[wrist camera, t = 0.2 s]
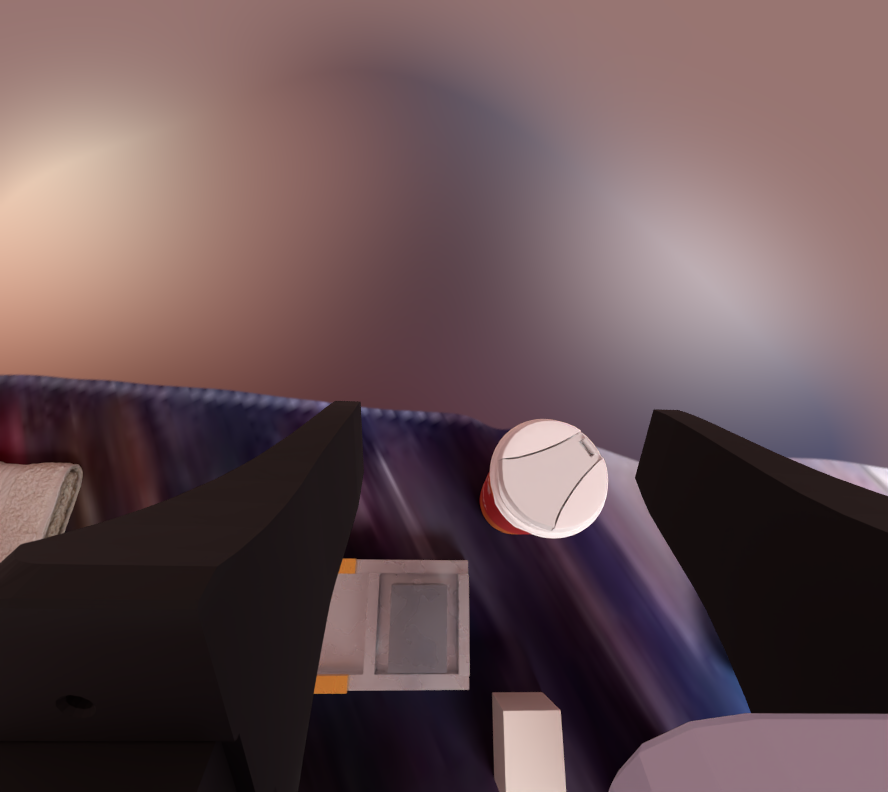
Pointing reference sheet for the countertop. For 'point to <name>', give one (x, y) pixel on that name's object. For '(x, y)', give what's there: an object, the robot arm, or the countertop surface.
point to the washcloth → (35, 501)
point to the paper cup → (544, 481)
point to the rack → (397, 627)
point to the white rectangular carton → (527, 743)
